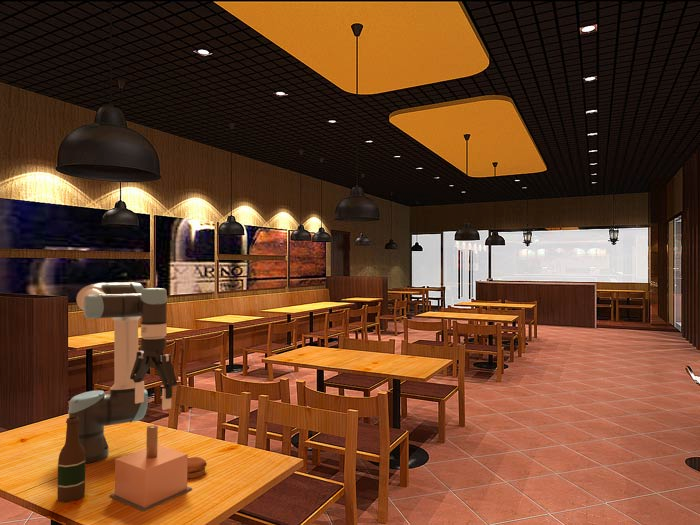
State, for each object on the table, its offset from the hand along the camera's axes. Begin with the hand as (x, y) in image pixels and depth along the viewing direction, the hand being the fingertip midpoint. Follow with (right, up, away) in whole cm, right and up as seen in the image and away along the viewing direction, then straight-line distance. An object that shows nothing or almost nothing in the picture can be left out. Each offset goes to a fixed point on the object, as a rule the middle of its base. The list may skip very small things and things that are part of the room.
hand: (152, 405), depth 153 cm
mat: (0, -27, 0) cm, 27 cm away
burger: (+7, -28, +15) cm, 32 cm away
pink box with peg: (0, -27, 0) cm, 27 cm away
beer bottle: (-23, -27, -3) cm, 36 cm away
